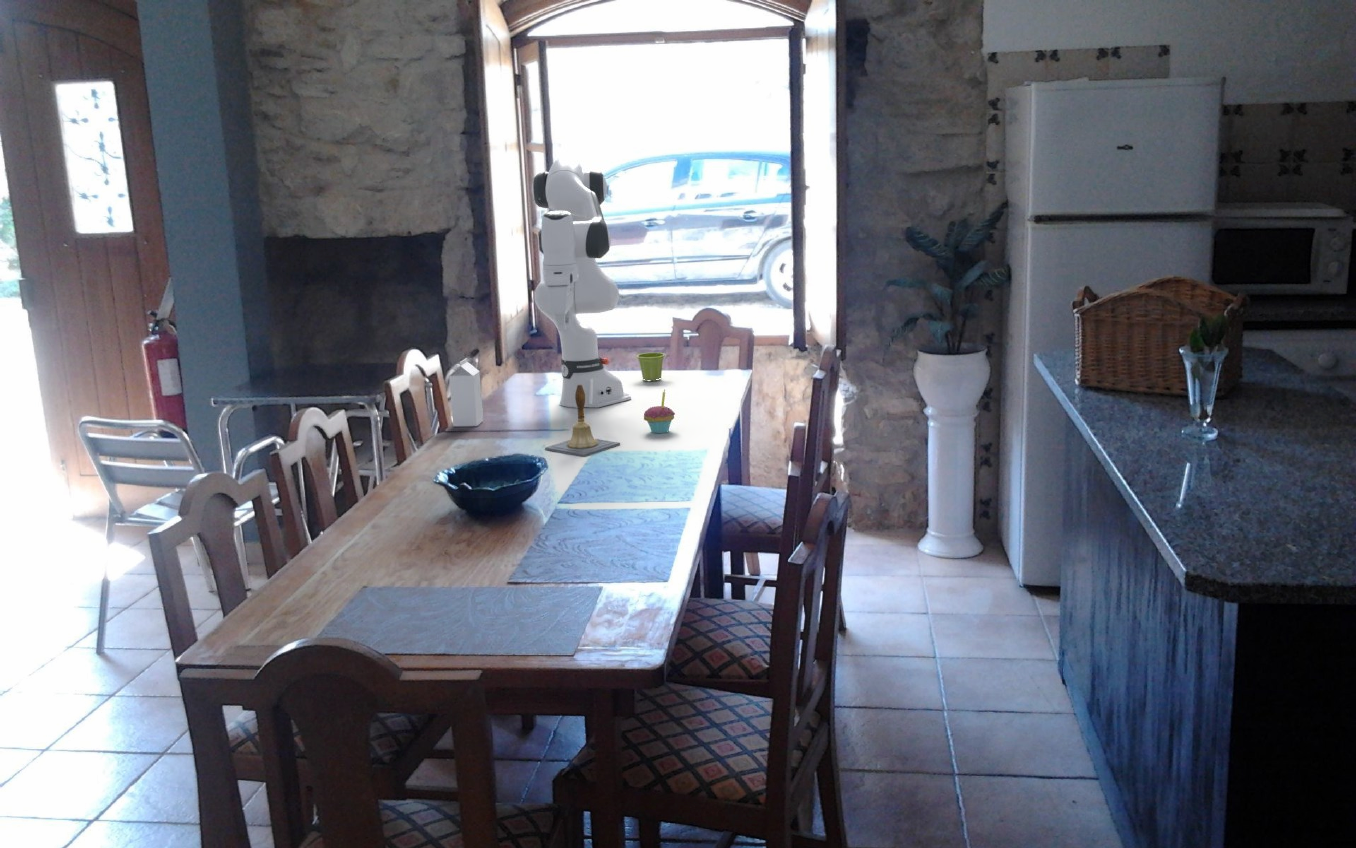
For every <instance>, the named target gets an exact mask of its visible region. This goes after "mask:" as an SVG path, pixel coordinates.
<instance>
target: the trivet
mask: <svg viewBox="0 0 1356 848" xmlns="http://www.w3.org/2000/svg"><path fill="white" fill-rule="evenodd" d="M595 439H596V440H597V441H598V445H596V446H593V447H587V448H571V447H568V446H567V443H568V442H569V441H570V439H569V440H566V441H561V442H558V443H556V444H552V445H549V446H546V447H544V450H545V451H550V452H556V453H561V454H565V455H566V454H567V455H573V456H579V457H584V458H585V457H587V456H588V457H589V456H590V455H594V454H596V453H600V452H602V451H605V450H609V449H613V448H615V447H618V446H621V443H620V442H617V441H611V440H606V439H605V440H604V439H601V438H600V439H599V438H595Z"/></svg>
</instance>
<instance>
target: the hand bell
mask: <svg viewBox="0 0 1356 848" xmlns="http://www.w3.org/2000/svg"><path fill="white" fill-rule="evenodd" d="M575 400H576V404H577V407H576V408H577V422H576V423H574V424H573V425H572V435H571V438H570V439H569V440H570V441H569V442H568V443H567V446H568V447H571V448H587V447H593V446H596V445H598V441H597V440H596V439H597V438H596V437H594V435H593V432H592V429H591V425H590V423H588V422H586V421H585V410H584V408H585V407H584V405H585V393H584V390H583V387H582V385H577V389H576V393H575Z"/></svg>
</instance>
